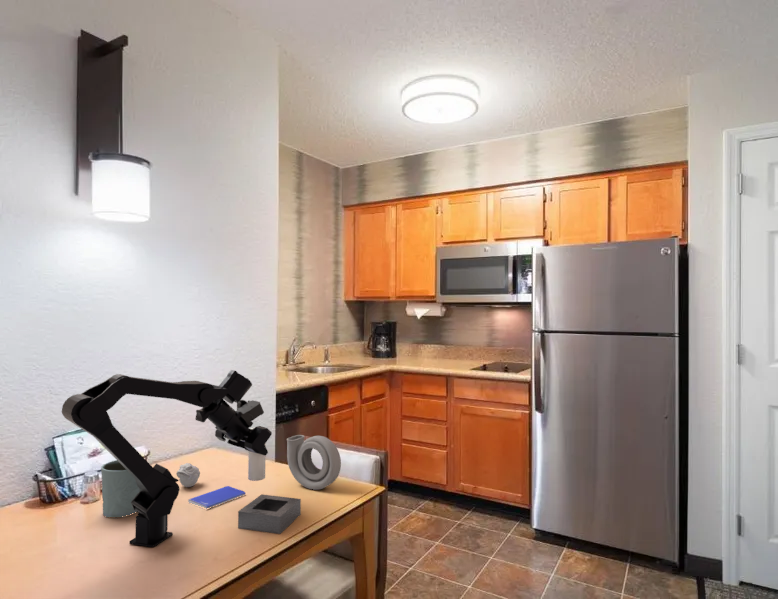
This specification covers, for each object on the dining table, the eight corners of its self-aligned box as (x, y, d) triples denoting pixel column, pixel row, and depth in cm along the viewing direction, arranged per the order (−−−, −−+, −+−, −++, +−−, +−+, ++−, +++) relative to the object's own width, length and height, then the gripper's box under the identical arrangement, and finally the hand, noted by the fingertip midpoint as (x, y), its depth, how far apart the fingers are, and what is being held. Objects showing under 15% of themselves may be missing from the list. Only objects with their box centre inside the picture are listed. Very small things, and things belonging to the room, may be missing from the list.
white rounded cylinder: (259, 481, 130) (260, 431, 130) (244, 479, 131) (245, 430, 131) (268, 476, 134) (269, 427, 134) (253, 474, 135) (254, 426, 135)
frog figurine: (171, 489, 142) (171, 465, 142) (188, 481, 148) (188, 458, 149) (188, 492, 140) (188, 467, 140) (205, 484, 147) (205, 460, 147)
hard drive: (206, 506, 128) (245, 491, 138) (188, 498, 133) (227, 485, 143) (206, 512, 128) (245, 497, 138) (188, 504, 133) (227, 490, 143)
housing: (280, 534, 115) (280, 516, 115) (238, 528, 118) (238, 511, 118) (300, 514, 126) (300, 498, 126) (261, 509, 129) (261, 494, 129)
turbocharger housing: (344, 488, 144) (344, 437, 144) (331, 496, 138) (332, 442, 138) (297, 479, 152) (298, 429, 152) (283, 485, 146) (284, 434, 146)
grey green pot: (101, 507, 129) (102, 461, 129) (144, 500, 134) (145, 456, 134) (99, 522, 120) (100, 473, 120) (145, 514, 125) (146, 467, 125)
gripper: (265, 396, 124) (300, 433, 132) (226, 387, 136) (260, 421, 144) (236, 434, 118) (275, 470, 126) (198, 421, 130) (235, 454, 138)
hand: (261, 452), depth 134 cm, fingers closed on white rounded cylinder, 4 cm apart
